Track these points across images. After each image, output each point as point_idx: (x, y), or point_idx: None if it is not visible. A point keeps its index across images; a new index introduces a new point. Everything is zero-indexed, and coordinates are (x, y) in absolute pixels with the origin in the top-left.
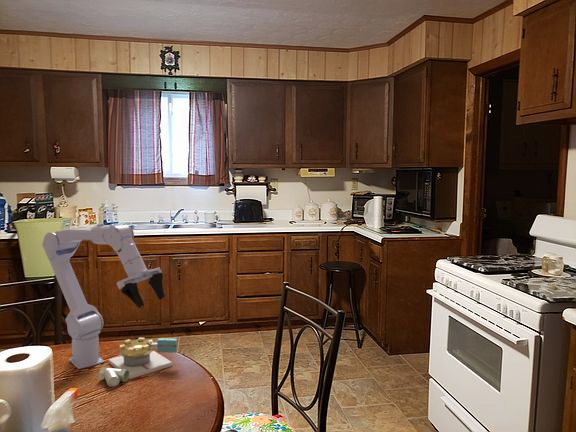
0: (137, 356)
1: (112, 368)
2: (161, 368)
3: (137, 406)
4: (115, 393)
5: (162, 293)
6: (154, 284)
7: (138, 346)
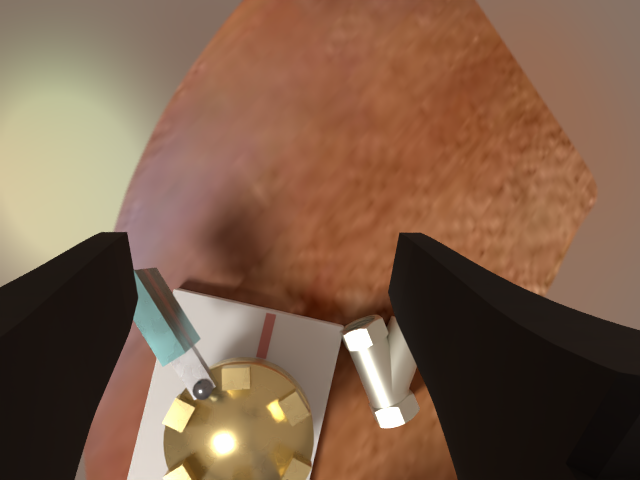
0: (283, 369)
1: (382, 387)
2: (220, 298)
3: (442, 146)
4: None
5: (101, 243)
6: (42, 446)
7: (241, 422)
